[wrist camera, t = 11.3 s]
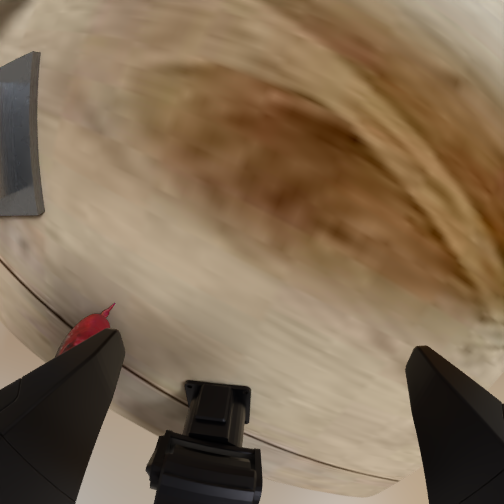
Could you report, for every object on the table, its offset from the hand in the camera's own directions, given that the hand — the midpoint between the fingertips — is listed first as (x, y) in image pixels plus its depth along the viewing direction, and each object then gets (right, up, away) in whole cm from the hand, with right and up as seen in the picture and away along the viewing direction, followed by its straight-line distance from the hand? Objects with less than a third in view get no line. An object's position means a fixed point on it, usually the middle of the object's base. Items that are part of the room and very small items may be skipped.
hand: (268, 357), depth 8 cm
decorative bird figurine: (-16, -4, +17) cm, 24 cm away
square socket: (-25, +13, +10) cm, 30 cm away
